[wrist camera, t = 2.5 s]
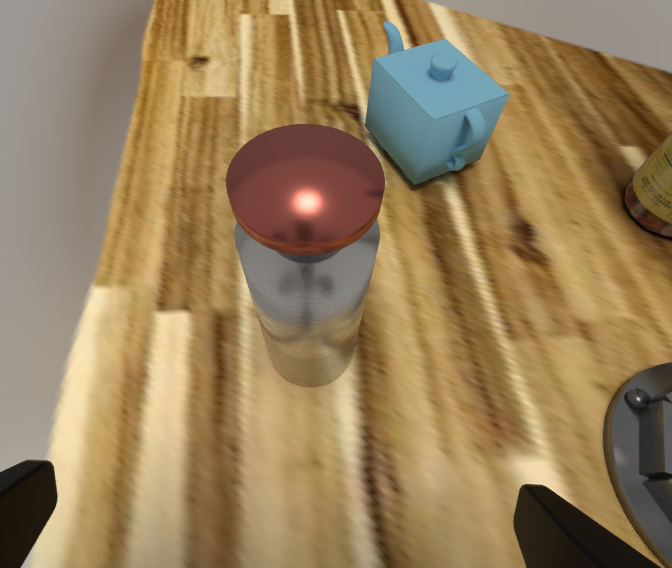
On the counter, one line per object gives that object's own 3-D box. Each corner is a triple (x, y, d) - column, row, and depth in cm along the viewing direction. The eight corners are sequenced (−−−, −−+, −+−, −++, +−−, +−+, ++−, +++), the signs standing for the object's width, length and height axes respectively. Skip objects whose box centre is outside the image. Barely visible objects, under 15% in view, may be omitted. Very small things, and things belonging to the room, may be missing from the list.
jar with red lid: (353, 388, 22) (395, 251, 10) (263, 385, 22) (203, 242, 10) (354, 308, 25) (388, 124, 13) (273, 304, 24) (233, 115, 13)
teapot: (344, 111, 34) (350, 16, 27) (402, 93, 36) (422, -1, 29) (423, 208, 29) (454, 120, 22) (487, 181, 31) (533, 92, 24)
